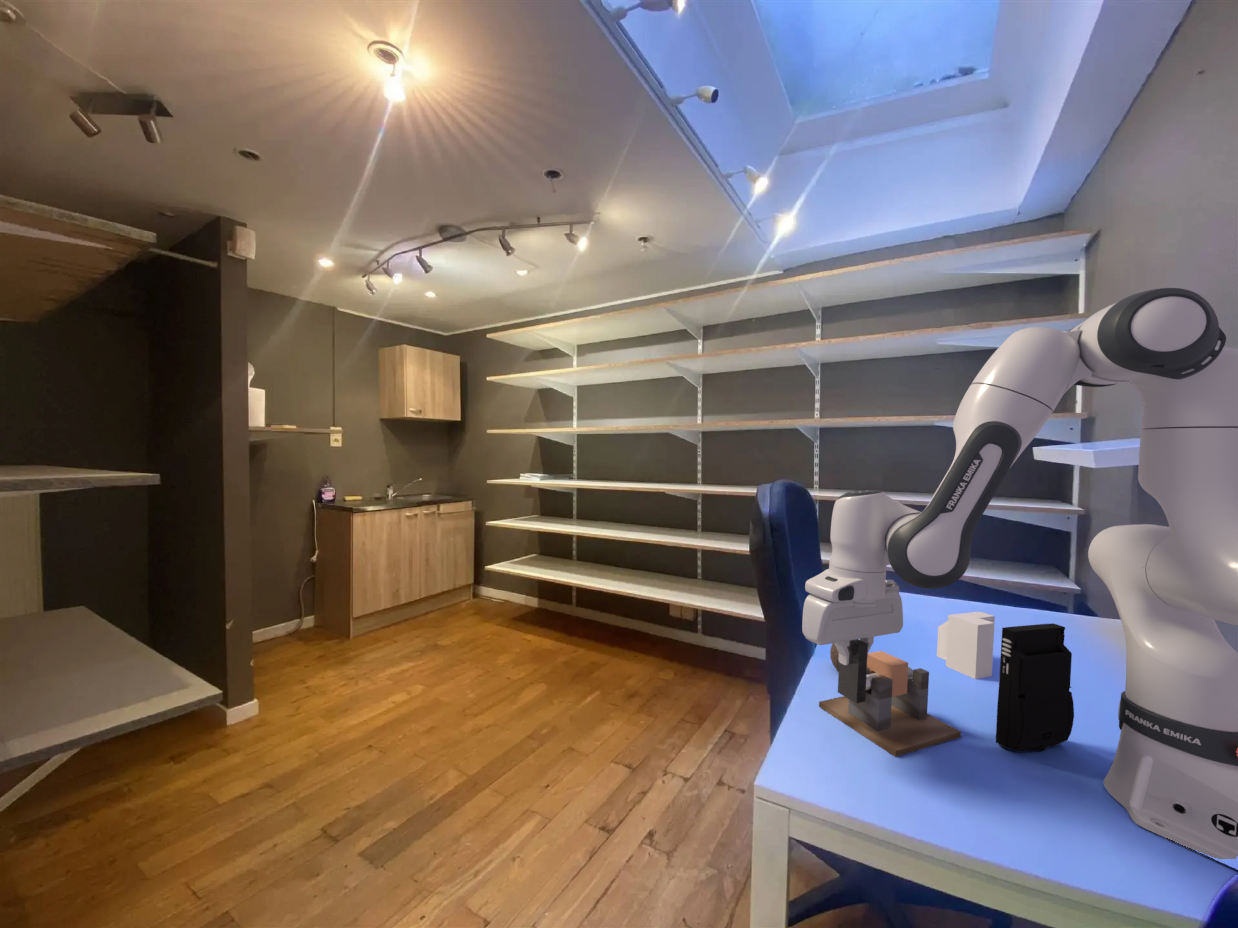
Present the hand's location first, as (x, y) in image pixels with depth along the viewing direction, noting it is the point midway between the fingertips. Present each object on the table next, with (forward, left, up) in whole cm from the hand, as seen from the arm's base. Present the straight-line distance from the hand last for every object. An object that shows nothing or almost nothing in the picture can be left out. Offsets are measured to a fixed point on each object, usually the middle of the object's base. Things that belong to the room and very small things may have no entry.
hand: (852, 662), depth 84 cm
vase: (+18, -19, -12) cm, 29 cm away
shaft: (0, -7, -6) cm, 9 cm away
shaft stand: (0, -9, -12) cm, 15 cm away
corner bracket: (+11, -49, -12) cm, 52 cm away
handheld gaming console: (-14, -26, -12) cm, 32 cm away
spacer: (0, -8, -6) cm, 10 cm away
